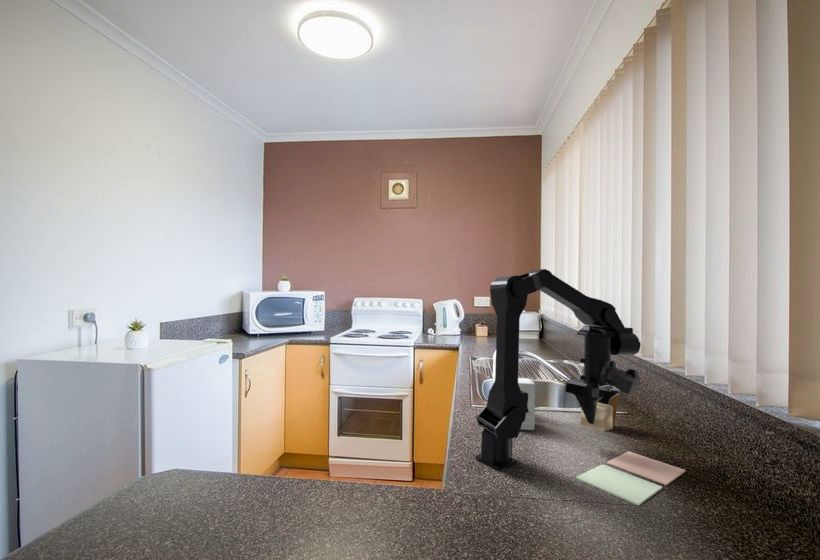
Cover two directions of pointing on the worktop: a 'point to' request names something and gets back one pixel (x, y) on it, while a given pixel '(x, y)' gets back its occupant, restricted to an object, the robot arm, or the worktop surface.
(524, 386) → the supplement box
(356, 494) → the worktop surface
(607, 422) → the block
